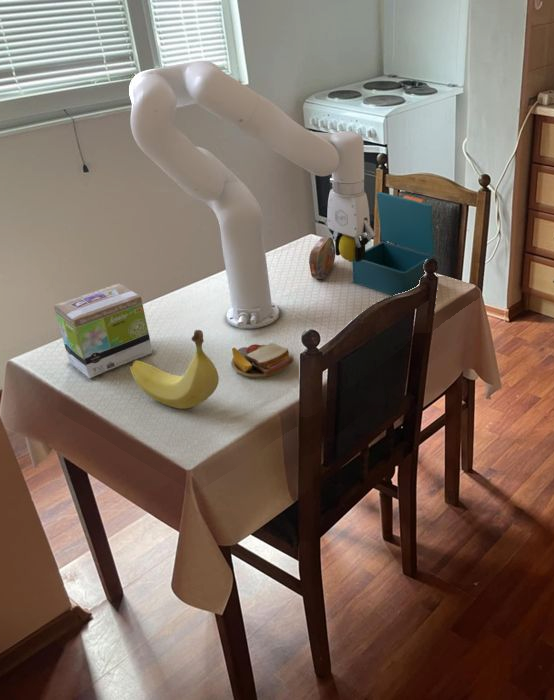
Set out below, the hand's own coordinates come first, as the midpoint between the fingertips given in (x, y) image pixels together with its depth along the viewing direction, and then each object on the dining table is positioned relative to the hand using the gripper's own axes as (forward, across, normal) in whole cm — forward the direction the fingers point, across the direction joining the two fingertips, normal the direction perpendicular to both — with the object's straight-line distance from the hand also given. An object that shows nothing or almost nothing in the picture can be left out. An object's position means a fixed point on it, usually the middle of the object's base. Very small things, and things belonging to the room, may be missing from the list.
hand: (350, 256), depth 179 cm
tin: (+12, -16, +7) cm, 21 cm away
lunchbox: (+11, +4, +13) cm, 18 cm away
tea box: (+13, -25, -53) cm, 60 cm away
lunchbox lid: (-4, +3, +18) cm, 19 cm away
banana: (+13, +1, -56) cm, 57 cm away
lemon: (+2, 0, 0) cm, 2 cm away
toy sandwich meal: (+12, +4, -35) cm, 38 cm away
